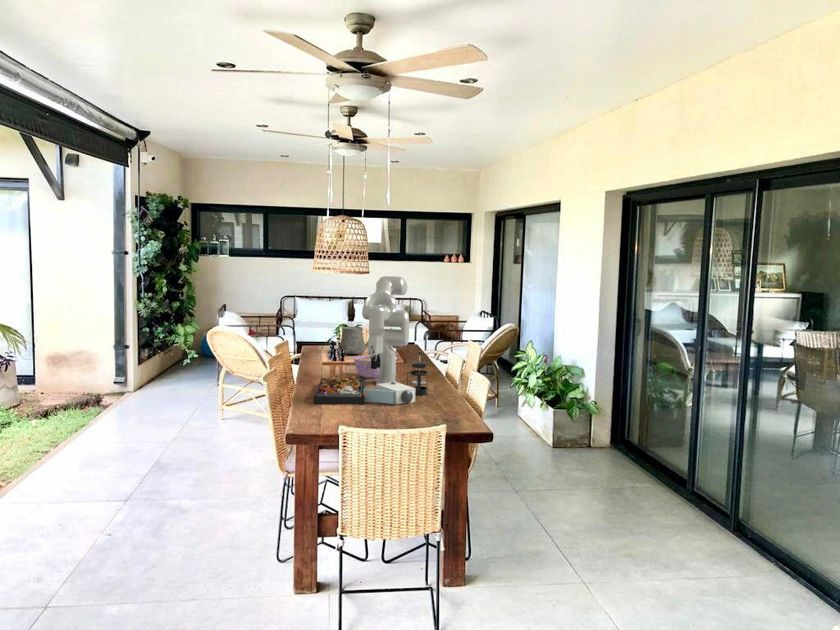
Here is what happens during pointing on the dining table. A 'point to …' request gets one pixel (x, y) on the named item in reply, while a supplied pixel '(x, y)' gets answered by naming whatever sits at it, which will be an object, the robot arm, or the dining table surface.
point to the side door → (379, 396)
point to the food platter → (340, 391)
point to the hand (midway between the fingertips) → (375, 367)
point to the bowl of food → (365, 367)
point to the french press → (419, 377)
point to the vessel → (353, 340)
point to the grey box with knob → (399, 391)
